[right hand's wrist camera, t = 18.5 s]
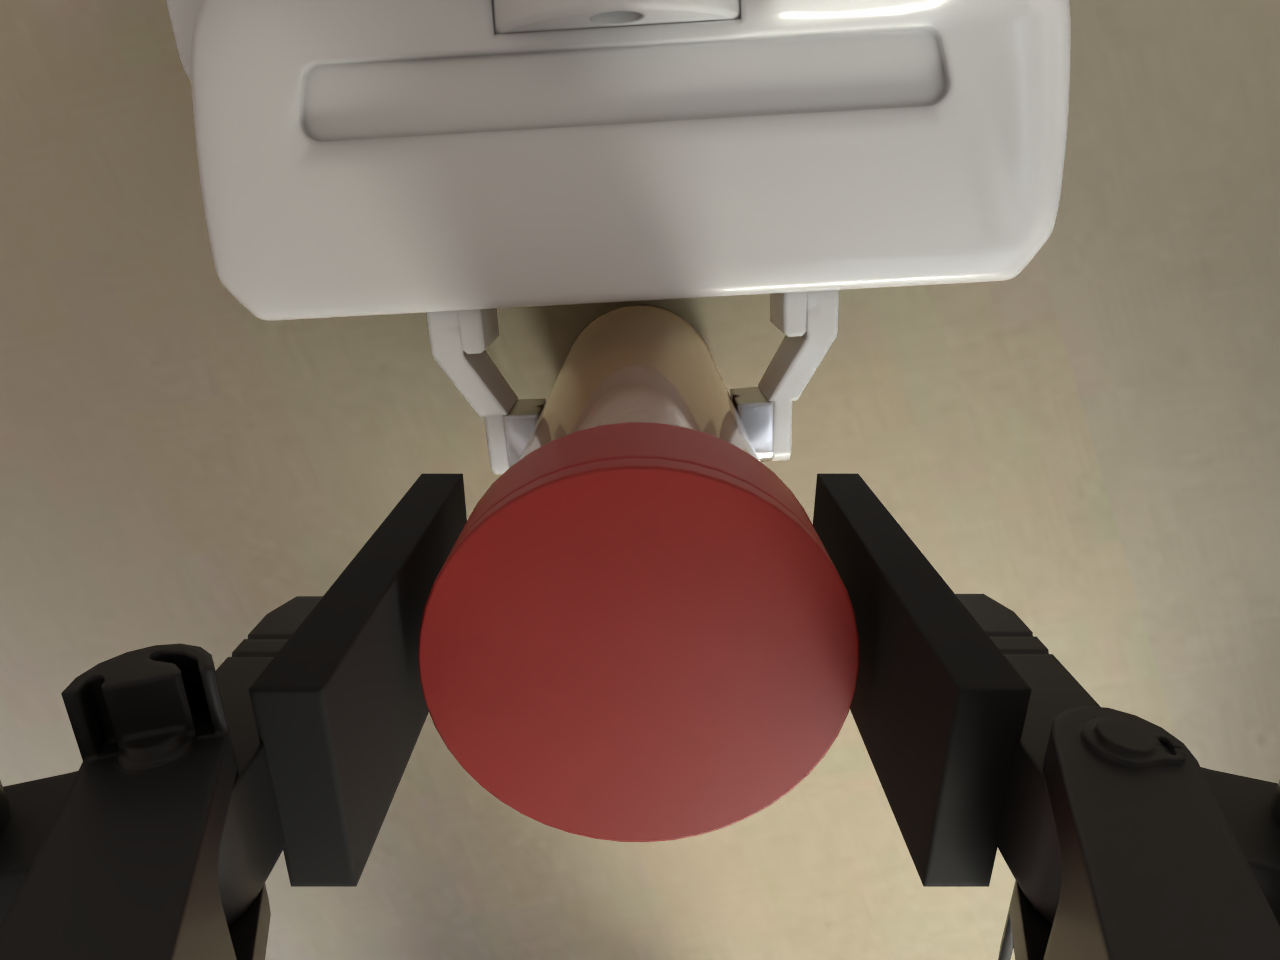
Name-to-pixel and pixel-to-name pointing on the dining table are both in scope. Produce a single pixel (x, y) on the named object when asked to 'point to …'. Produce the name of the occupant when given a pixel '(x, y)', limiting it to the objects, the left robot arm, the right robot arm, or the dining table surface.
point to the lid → (638, 636)
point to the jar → (639, 380)
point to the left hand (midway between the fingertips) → (642, 461)
